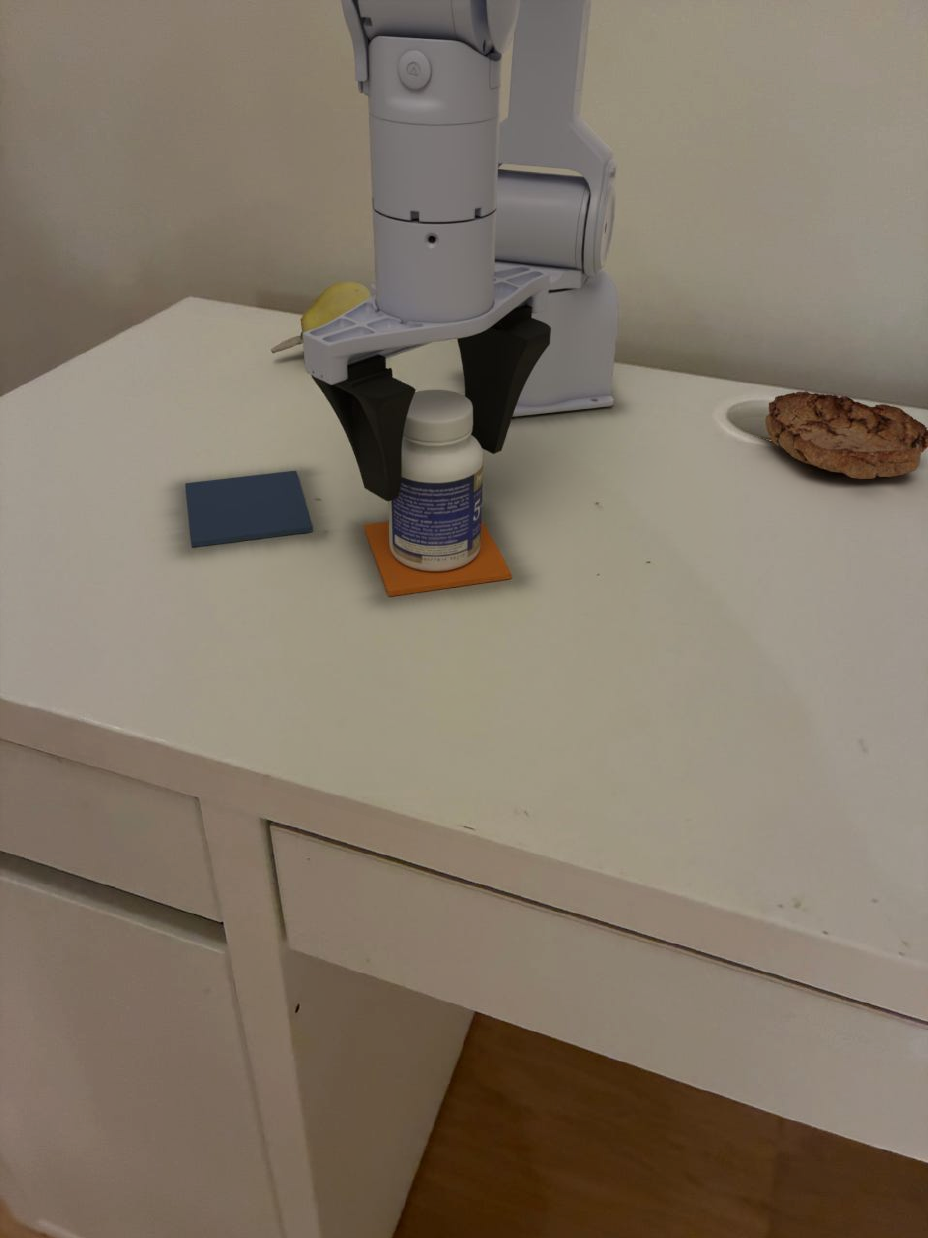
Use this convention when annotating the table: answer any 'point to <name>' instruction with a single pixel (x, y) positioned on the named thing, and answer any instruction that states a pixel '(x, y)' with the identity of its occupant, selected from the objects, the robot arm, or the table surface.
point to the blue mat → (246, 508)
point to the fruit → (328, 309)
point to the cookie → (846, 434)
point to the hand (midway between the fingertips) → (435, 468)
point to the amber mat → (413, 580)
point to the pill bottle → (438, 485)
